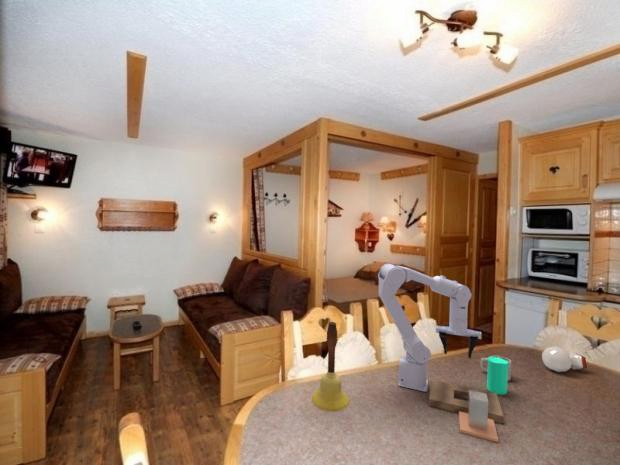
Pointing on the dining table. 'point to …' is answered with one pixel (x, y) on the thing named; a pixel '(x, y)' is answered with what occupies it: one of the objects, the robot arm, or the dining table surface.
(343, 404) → the handbell
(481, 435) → the terracotta tile
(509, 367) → the mug
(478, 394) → the steel plug
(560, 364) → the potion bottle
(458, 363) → the dining table surface
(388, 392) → the dining table surface
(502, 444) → the dining table surface
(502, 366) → the candle
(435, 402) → the wooden board with hole
